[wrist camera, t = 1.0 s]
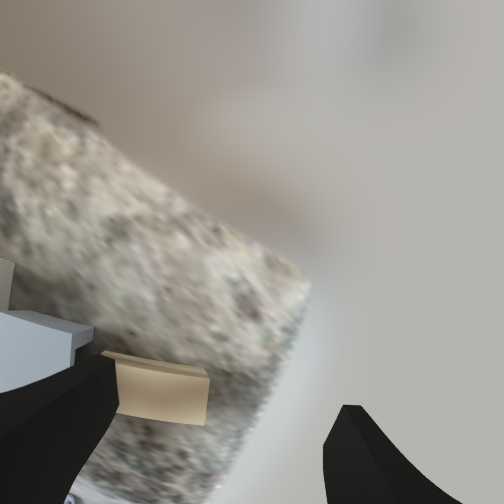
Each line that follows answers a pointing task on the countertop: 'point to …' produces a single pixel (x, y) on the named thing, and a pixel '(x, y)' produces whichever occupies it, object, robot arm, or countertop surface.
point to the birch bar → (161, 389)
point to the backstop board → (5, 282)
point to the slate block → (37, 346)
